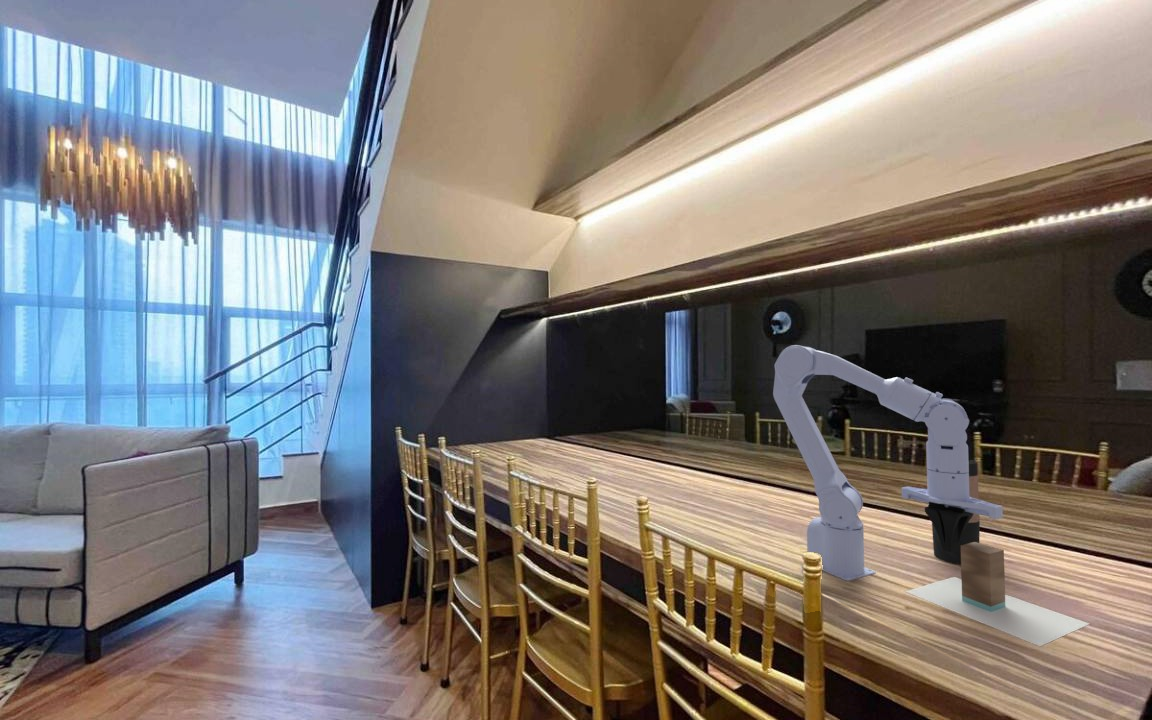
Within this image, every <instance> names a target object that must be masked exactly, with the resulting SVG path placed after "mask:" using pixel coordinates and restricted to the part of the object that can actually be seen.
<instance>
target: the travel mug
mask: <svg viewBox="0 0 1152 720" xmlns="http://www.w3.org/2000/svg"><path fill="white" fill-rule="evenodd" d="M978 469H979V468H978V462H977V461H975V460H973V459H970V460H969V495H970V497H971V498H975V499H978V500H980V499H979V498H980V495H979V475H978V474H979V472H978ZM980 516H981V515H979V514H975V513H973V516H972V518H971V519H970V520H969V522H968V523H967V525H966V527H965V529H964V531H963V533H962V535H961V538H960V542H959V546H958V550H957V551H954V552H948V551H945V550H942V547H941V543H940V540H939V537H938V534H937V532H936V529H935V527H934V525H933V523H932V522H931V528H932V532H931V533H932V546H933V555H934V557H935V558H937V559H939V560H941V561H943V562H946V563H951V564H955V565H959V566H961V545H965V544H969V543H972V542H977V543H980V537H981V536H980V535H981V534H980V525H981V524H980V522H981V521H980Z"/></svg>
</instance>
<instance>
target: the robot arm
mask: <svg viewBox="0 0 1152 720" xmlns="http://www.w3.org/2000/svg"><path fill="white" fill-rule="evenodd" d="M816 375H817V376H818V375H819V376H821V375H822V376H823V375H825V376H834V377H837V378H838V379H841V380H843V381H845V382H848V383H850V384H852V385H855V386H857V387H859V388H862V389H863V390H866V391H868V392H870V393H872V394H875V395H876V397H877V398H878V402H879V404H880V405H881V406H883V407H885V408H887V409H889V410H892V411H894V412H896V413H898V414H900V415H902V416H904V417H906V418H908V419H910V420H913V421H914V422H917V423H918V422H923V423H925V425H926V427H927V439H928V440H927V441H926V444H925V445H926V448H925V449H926V450H925V451H926V480H927V481H926V483H927V484H926V485H927V486H926V487H927V488H918V487H914V486H913V487H912V486H904V487H903V486H902V487H901V498H902V499H906V500H914V501H917V502H922V503H926V504H927V503H928V505H927V506H925V507H924V512H925V515H927V516H928V518H929V520H930V522H931V524H932V523H933V525H934V527H935V529H936V532H937V534H938V537H939V540H940V543H941V547H942V550H945V551H948V552H954V551H957V550H958V546H959V542H960V538H961V535H962V533H963V531H964V529H965V527H966V525H967V523H968V522H969V520H970V519H971V518H972V516H973V513H975V514H979V516H984V517H988V519H992V520H1000V519H1003V518H1004V517H1003V515H1004V511H1003V505H999V504H995V503H991V502H989V501H985V500H982V499H979V500H978V499H975V498H971V497H970V495H969V461H970V460H969V446H968V444H967V440H968V434H967V432H966V431H967V428H968V426H969V424H970V419H969V417H968V415H967V412H966V411H965V410H966V409H964V407H963V406H962V405H960V404H959V402H956V401H954V399H951V398H942V397H943V396H944V395H943V393H940V392H939V391H936V392H935V393H934V392H932V391H930V390H928V389H925V388H923V387H922V386H918V385H917V384H914V383H913V382H914V380H913V379H912V378H908V377H905V378H904V379H903V378H901V377H898V376H896V377H892V378H887V379H885V378H883V377H881V376H879V375H877V374H875V373H872V372H871V371H868V370H866V369H864V368H862V367H860V366H858V365H856V364H854V363H852V362H850V361H848V360H846V359H844V358H842V357H840V356H838V355H835V354H831V353H828V352H825V351H821V350H818V349H817V350H816V349H815V348H812V347H811V346H803V345H799V344H794V345H789V346H787V347H786V348H783V349H782V351H781V352H780V354H779V356H778V357H777V359H776V361H775V363H774V380H773V381H774V382H773V392H772V396H773V399H774V401H775V403H776V405H777V407H778V409H779V412H780V413H781V416H782V417H783V419H784V421H785V423H786V426H787V427H788V430H789V432H790V433H791V435H792V438H793V440H794V441H795V444H796V446H797V449H798V450H799V453H800V454H801V456H802V459H803V460H804V462H805V465H806V466H807V468H808V471H809V472H810V474H811V477H812V478H813V484H814V485H813V486H814V492H815V494H816V496H817V498H818V511H819V514H820V516H821V517H820V516H817V517H814V518H813V519H811V520H810V522H809V523H808V524H807V528H806V545H807V546H806V548H807V550H806V551H807V552H814V553H818V554H820V555H821V557H822V565H823V571H822V572H826V573H828V574H830V575H833V576H835V577H838V578H839V579H841V580H844V581H847V582H849V581H852V580H856V579H860V578H863V577H867V576H871V575H875V574H876V573H877V572H876V570H873V569H870V568H868V567H865V542H864V541H865V538H864V537H865V536H864V535H865V534H864V532H865V531H864V530H865V529H864V523H863V521H862V520H861V518H860V517H859V514H860V512H861V510H862V509H863V506H864V499H863V496H862V494H861V493H860V492H859V491H858V489H856V488H855V487H854V486H852V484H851V483H850V481H848V478H847V476H846V475H845V474H844V473H843V472H842V471H841V470H840V468H839V467H838V464H837V463H836V460H835V459H834V457H833V454H832V452H831V450H830V449H829V447H828V445H827V443H826V442H825V439H824V437H823V435H822V432H821V431H820V429H819V427H818V425H817V423H816V421H815V419H814V417H813V416H812V414H811V411H810V409H809V407H808V405H807V404H806V402H805V399H804V398H803V394H804V392H805V390H806V387H807V385H808V383H809V382H810V380H812V378H814V376H816ZM807 552H806V553H807Z"/></svg>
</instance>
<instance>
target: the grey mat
mask: <svg viewBox="0 0 1152 720" xmlns="http://www.w3.org/2000/svg"><path fill="white" fill-rule="evenodd" d="M904 592H905V593H907V594H910V595H911V596H914V597H917V598H919V599H921V600H925V601H926V602H929V603H931V604H934V605H936V606H939V607H942V608H944V609H946V610H948V611H952V612H954V613H956V614H959V615H961V616H964V617H966V618H969V619H971V620H973V621H976V622H979V623H982V624H983V625H986V626H988V627H990V628H992V629H996V630H998V631H1001V632H1003V633H1005V634H1008V635H1010V636H1012V637H1015V638H1017V639H1020V640H1023V641H1025V642H1028V643H1031V644H1032V645H1035V646H1038V647H1043V646H1044V645H1047V644H1049V643H1051V642H1054V641H1055V640H1058V639H1061V638H1062V637H1064V636H1067V635H1068V634H1071V633H1074V632H1075V631H1077V630H1080V629H1081V628H1084V627H1087V626H1088V625H1090V623H1088V622H1086V621H1083V620H1080V619H1078V618H1074V617H1071V616H1069V615H1066V614H1063V613H1061V612H1057V611H1054V610H1051V609H1048V608H1046V607H1042V606H1041V605H1037V604H1033V603H1032V602H1028V601H1025V600H1022V599H1019V598H1017V597H1014V596H1010V595H1008V594H1005V607H1003V608H1001V609H998V610H995V611H993V612H990V611H987V610H985V609H982V608H979V607H977V606H974V605H972V604H969V603H966V602H964V601H962V578H959V577H956V576H951V577H949V578H945V579H942V580H938V581H935V582H932V583H928V584H926V585H925V584H924V585H922V586H920V587H919V586H918V587H916V588H913V589H909V590H906V591H904Z"/></svg>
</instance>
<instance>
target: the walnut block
mask: <svg viewBox="0 0 1152 720" xmlns="http://www.w3.org/2000/svg"><path fill="white" fill-rule="evenodd" d="M1004 551H1005V550H1004V549H1002V548H999V547H994V546H990V545H988V544H983V543H980V542H979V543H977V542H972V543H969V544H965V545H961V565H960V567H961V568H960V571H961V572H960V573H961V574H960V576H961V577H960V579H962V601H964V602H966V603H969V604H972V605H974V606H977V607H979V608H982V609H985V610H987V611H990V612H993V611H995V610H998V609H1001V608H1003V607H1005V595H1006V582H1005V577H1006V576H1005V552H1004Z"/></svg>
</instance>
